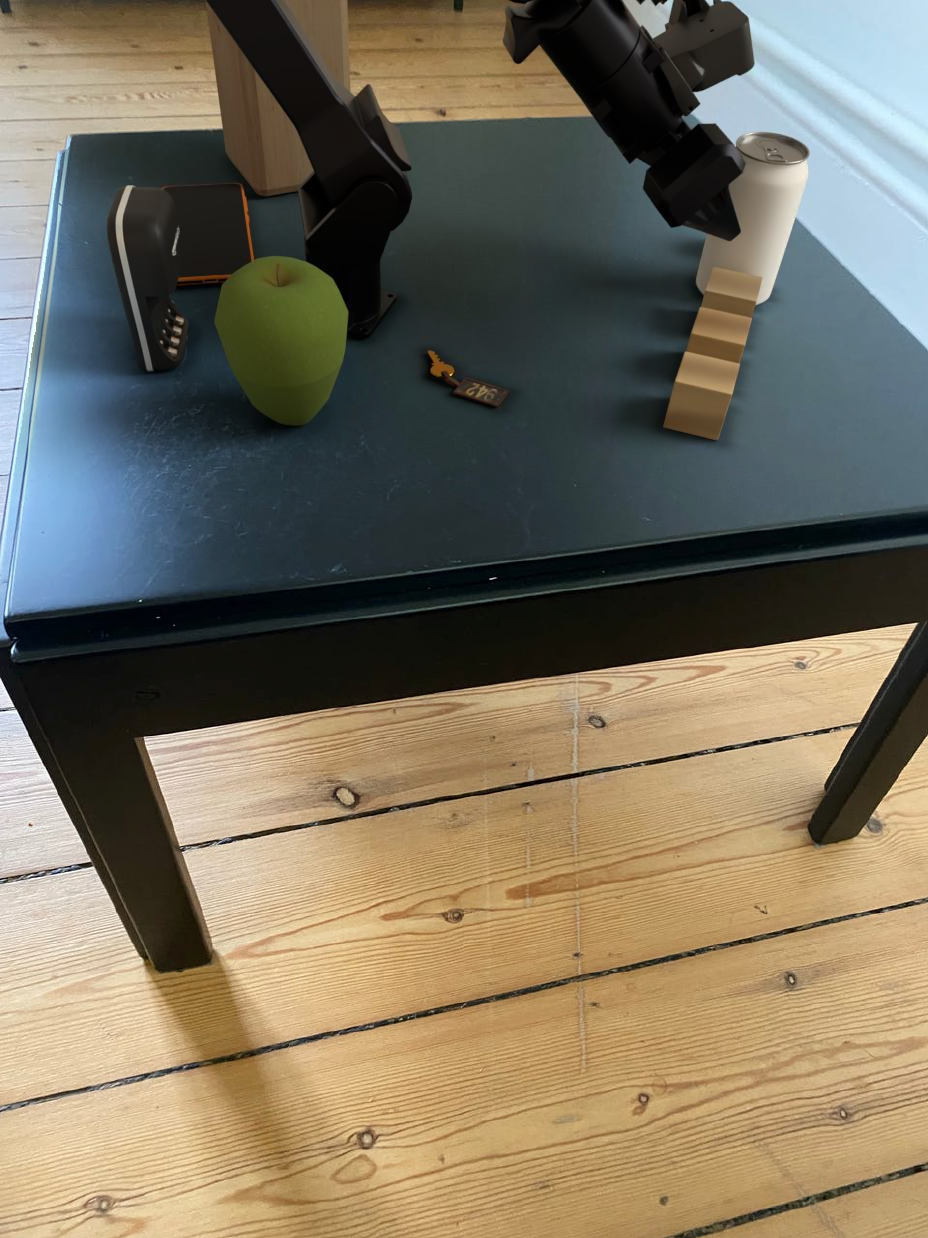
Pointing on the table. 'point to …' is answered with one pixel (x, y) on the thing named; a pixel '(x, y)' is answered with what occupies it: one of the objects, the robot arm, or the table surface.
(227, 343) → the apple
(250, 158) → the wooden block
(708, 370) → the block
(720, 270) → the block
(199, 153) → the table surface
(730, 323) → the block
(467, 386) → the key tag
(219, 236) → the smartphone
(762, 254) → the can
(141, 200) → the battery charger
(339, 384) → the table surface
